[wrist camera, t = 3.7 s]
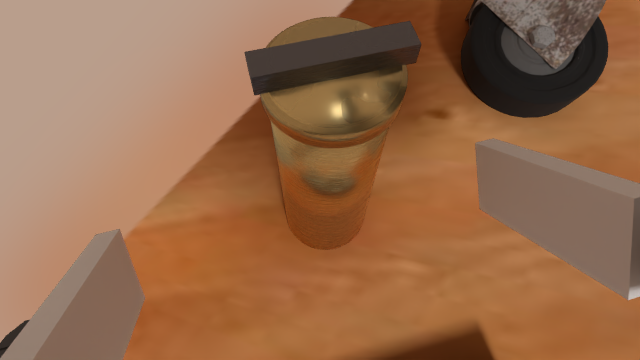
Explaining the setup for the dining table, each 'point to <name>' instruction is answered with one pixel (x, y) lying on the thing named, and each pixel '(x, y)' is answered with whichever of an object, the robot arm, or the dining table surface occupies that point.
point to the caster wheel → (533, 53)
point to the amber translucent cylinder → (331, 116)
